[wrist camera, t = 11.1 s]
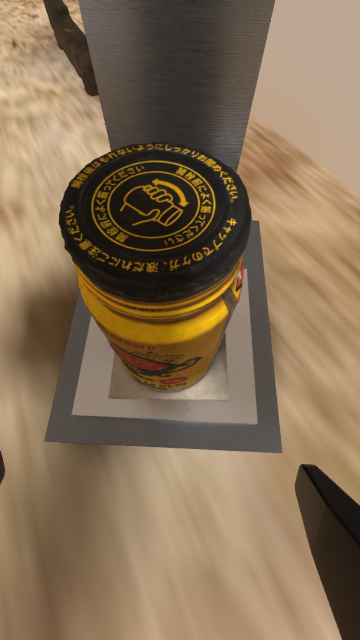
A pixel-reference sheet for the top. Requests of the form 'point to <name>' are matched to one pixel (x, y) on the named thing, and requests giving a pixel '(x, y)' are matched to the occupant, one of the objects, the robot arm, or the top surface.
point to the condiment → (160, 264)
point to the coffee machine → (213, 138)
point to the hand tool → (72, 42)
